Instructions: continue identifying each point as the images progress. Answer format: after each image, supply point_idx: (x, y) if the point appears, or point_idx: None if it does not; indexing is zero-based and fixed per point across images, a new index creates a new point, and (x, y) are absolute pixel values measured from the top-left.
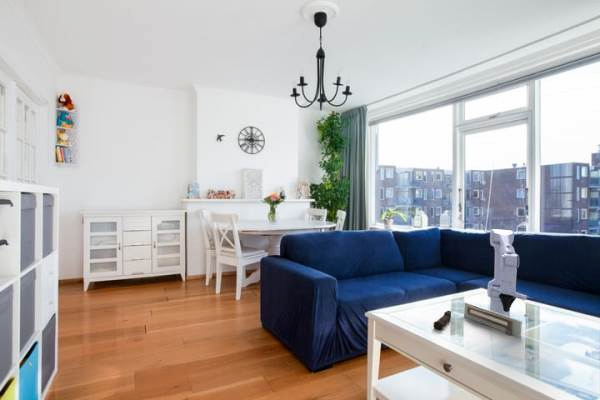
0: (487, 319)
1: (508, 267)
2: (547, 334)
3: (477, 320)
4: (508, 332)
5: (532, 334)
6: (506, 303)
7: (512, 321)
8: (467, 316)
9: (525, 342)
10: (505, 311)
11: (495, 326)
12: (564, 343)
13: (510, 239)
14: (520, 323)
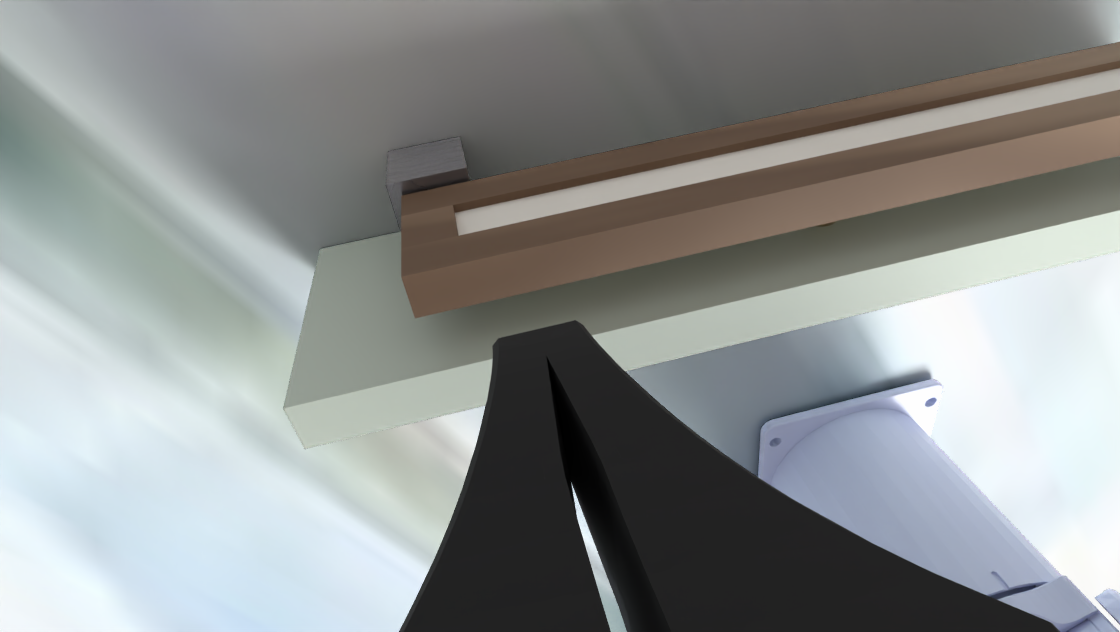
0: (804, 123)
1: None
2: (351, 584)
3: None
4: (412, 160)
5: (376, 462)
6: (525, 528)
7: (435, 336)
8: None
9: (128, 178)
10: (531, 334)
11: None
12: (117, 583)
13: None
14: (291, 382)
